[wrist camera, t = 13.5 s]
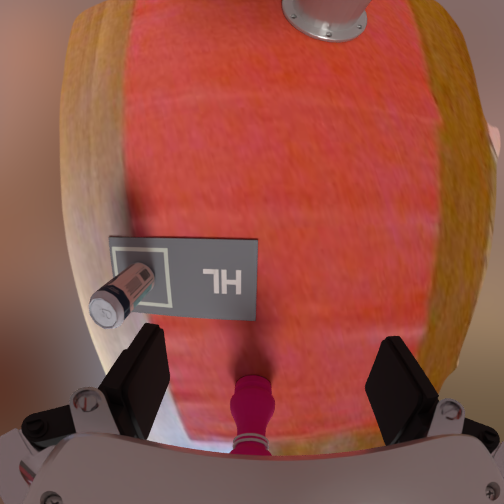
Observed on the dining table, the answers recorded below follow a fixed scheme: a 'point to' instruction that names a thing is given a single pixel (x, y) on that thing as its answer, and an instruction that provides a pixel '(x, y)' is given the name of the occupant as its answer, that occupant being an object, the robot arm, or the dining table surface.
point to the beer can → (121, 295)
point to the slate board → (193, 275)
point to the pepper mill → (252, 415)
